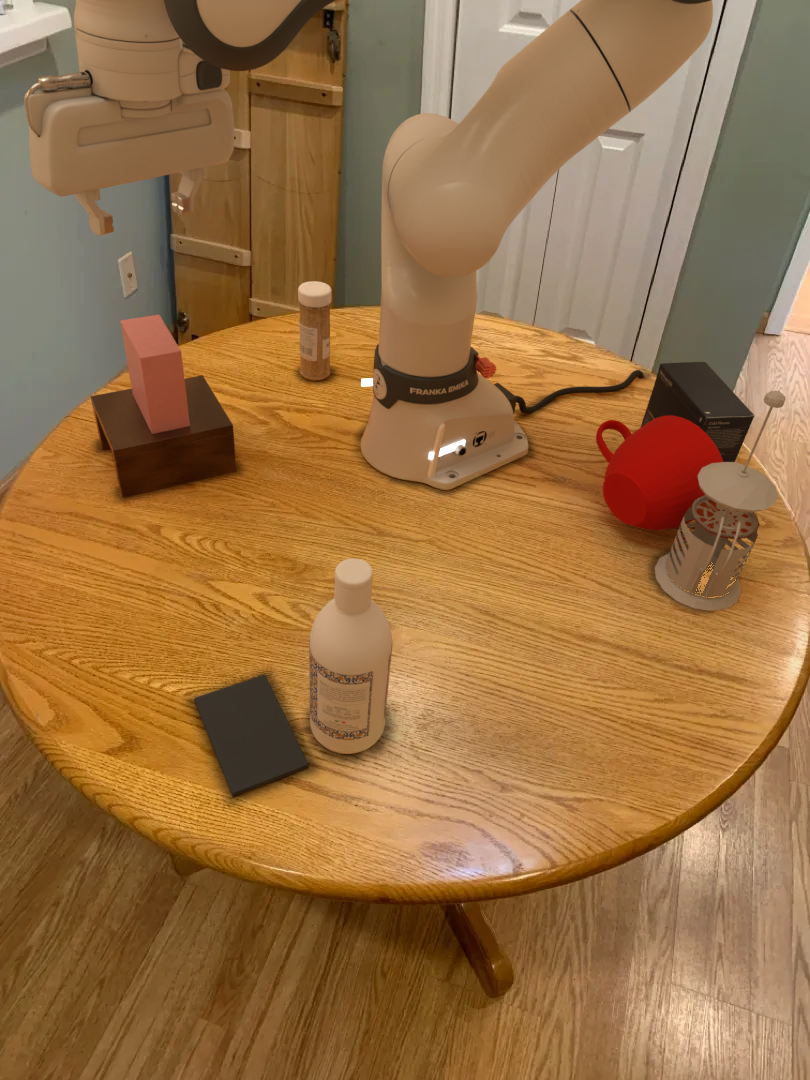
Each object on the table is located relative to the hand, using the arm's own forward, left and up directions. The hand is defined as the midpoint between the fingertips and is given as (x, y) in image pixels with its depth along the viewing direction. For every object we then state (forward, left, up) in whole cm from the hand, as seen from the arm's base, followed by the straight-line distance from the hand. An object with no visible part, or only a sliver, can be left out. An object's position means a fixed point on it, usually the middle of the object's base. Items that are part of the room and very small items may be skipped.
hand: (144, 221), depth 83 cm
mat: (+5, +40, -31) cm, 51 cm away
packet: (0, -4, -24) cm, 24 cm away
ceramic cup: (-43, +29, -25) cm, 58 cm away
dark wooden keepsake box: (0, -4, -31) cm, 31 cm away
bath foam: (-4, +43, -31) cm, 53 cm away
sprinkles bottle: (-25, -16, -31) cm, 43 cm away
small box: (-61, +23, -31) cm, 72 cm away
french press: (-48, +42, -31) cm, 71 cm away
